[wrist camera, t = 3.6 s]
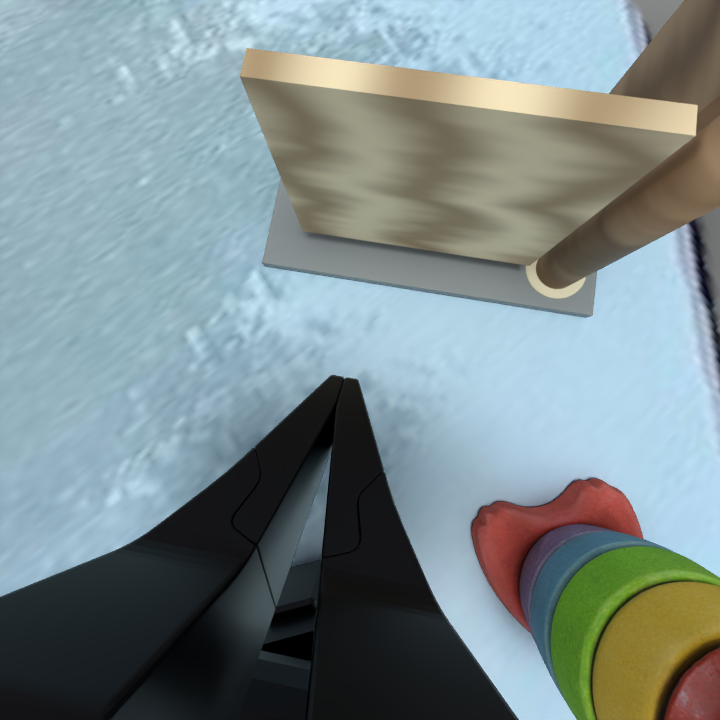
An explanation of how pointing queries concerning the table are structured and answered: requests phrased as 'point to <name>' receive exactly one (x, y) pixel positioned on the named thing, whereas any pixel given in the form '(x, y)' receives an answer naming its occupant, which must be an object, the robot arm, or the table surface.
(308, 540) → the table surface
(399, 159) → the folding fence panel
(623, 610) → the stacking bear
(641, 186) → the fixed fence panel
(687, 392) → the table surface
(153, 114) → the table surface
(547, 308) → the board
